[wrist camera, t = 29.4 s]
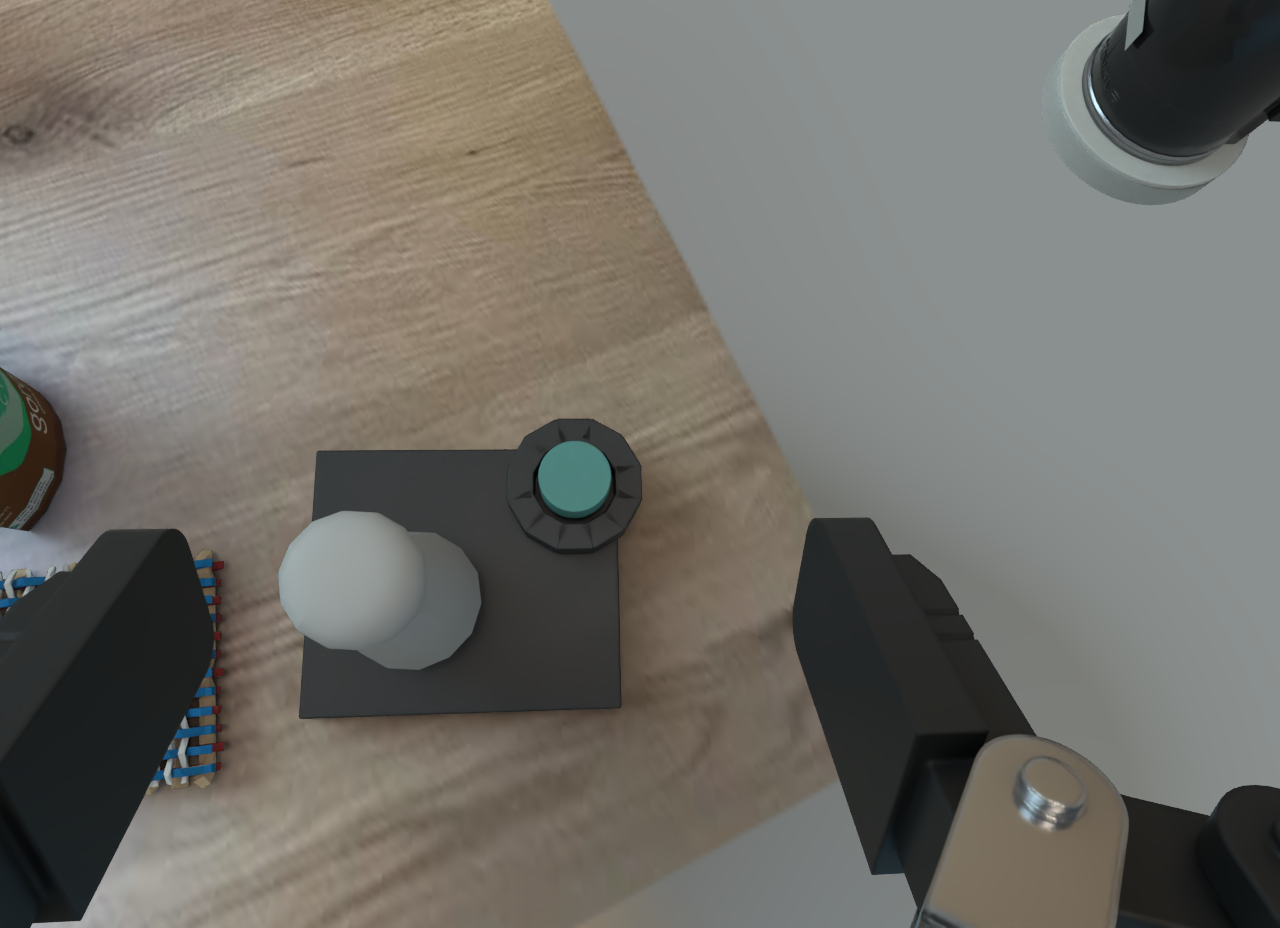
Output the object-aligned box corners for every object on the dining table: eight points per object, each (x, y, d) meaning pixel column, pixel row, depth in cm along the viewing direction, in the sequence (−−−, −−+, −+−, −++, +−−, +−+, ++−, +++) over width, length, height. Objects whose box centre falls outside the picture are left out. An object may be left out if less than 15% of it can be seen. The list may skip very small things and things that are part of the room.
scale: (634, 437, 41) (639, 417, 38) (641, 705, 38) (648, 709, 35) (329, 439, 40) (306, 418, 36) (311, 716, 37) (285, 722, 33)
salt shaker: (350, 549, 37) (235, 492, 24) (477, 530, 37) (429, 464, 25) (363, 680, 35) (248, 693, 23) (494, 657, 36) (453, 657, 24)
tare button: (608, 450, 38) (610, 440, 36) (610, 518, 37) (611, 511, 35) (539, 450, 37) (538, 440, 36) (539, 519, 37) (538, 512, 35)
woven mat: (-12, 574, 37) (-44, 569, 35) (231, 549, 38) (212, 543, 36) (-26, 817, 35) (-62, 826, 33) (232, 782, 36) (212, 789, 34)
